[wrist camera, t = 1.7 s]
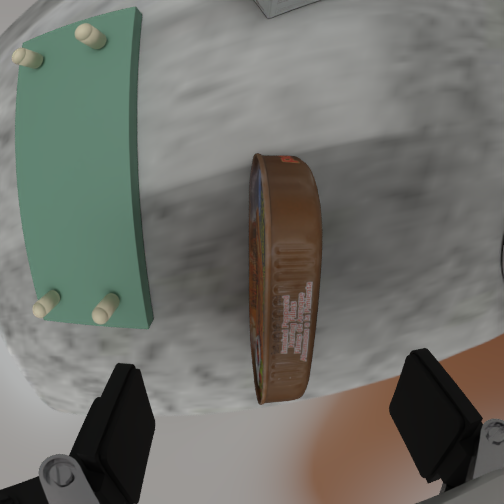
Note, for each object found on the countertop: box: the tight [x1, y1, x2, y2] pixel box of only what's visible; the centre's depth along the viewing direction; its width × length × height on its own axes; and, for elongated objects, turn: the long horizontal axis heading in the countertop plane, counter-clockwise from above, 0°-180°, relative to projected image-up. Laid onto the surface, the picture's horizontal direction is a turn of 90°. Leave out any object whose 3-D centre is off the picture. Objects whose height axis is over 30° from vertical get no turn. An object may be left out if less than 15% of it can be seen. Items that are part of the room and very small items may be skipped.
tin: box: [249, 153, 322, 405], centre depth 18 cm, size 15×3×8 cm, turn 0°
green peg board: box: [12, 7, 154, 329], centre depth 17 cm, size 10×23×5 cm, turn 0°
